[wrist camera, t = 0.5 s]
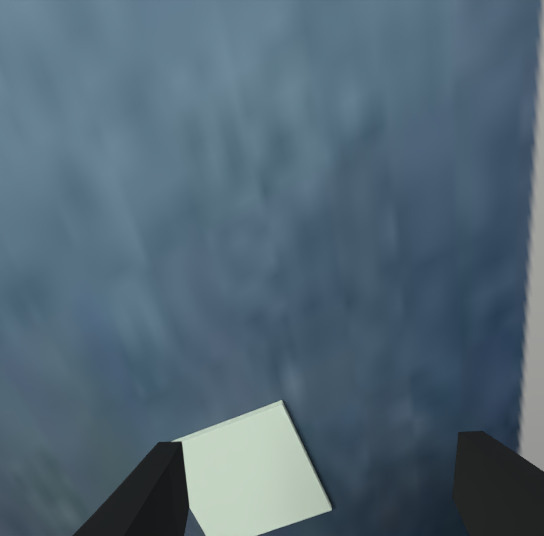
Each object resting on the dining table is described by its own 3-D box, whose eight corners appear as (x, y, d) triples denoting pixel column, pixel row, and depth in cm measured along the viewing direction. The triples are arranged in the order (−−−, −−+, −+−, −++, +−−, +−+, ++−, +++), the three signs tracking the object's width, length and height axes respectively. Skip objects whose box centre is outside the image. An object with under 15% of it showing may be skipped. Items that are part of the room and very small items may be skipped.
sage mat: (330, 504, 21) (332, 510, 21) (215, 543, 22) (214, 549, 21) (282, 399, 19) (282, 404, 19) (158, 446, 20) (156, 450, 20)
